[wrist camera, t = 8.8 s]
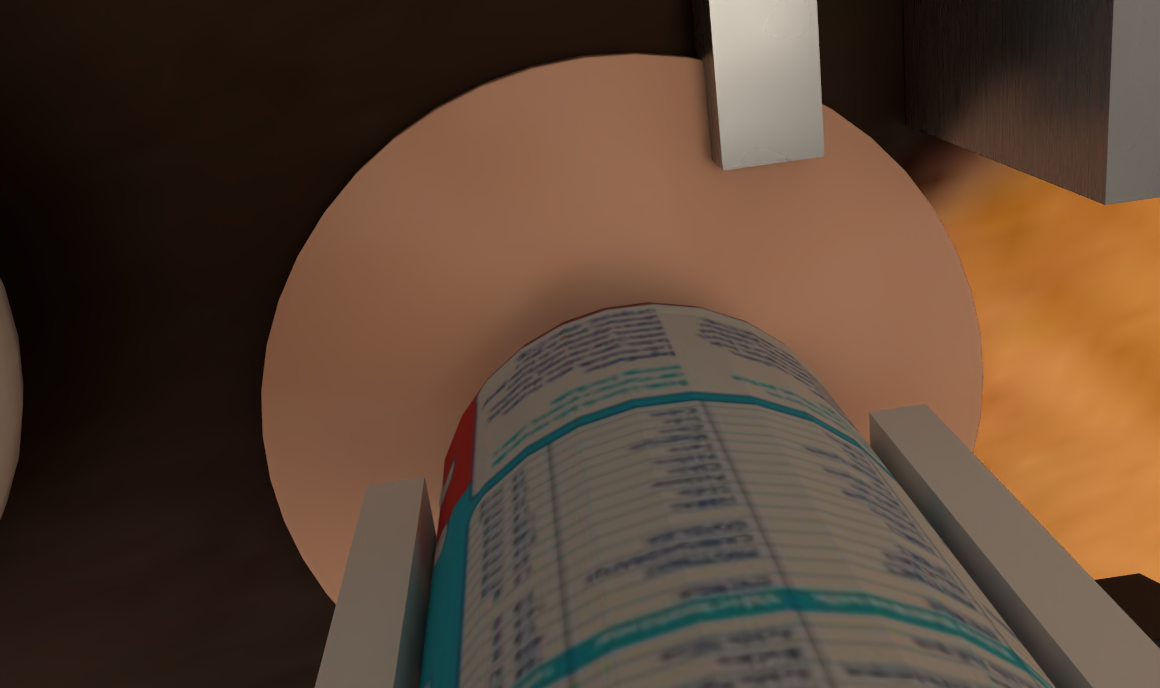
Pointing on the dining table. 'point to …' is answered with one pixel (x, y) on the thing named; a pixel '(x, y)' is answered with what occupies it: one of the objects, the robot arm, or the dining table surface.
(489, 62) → the dining table surface
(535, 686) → the beverage can
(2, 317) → the lidded jar
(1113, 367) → the dining table surface
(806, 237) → the coaster
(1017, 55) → the dumbbell
